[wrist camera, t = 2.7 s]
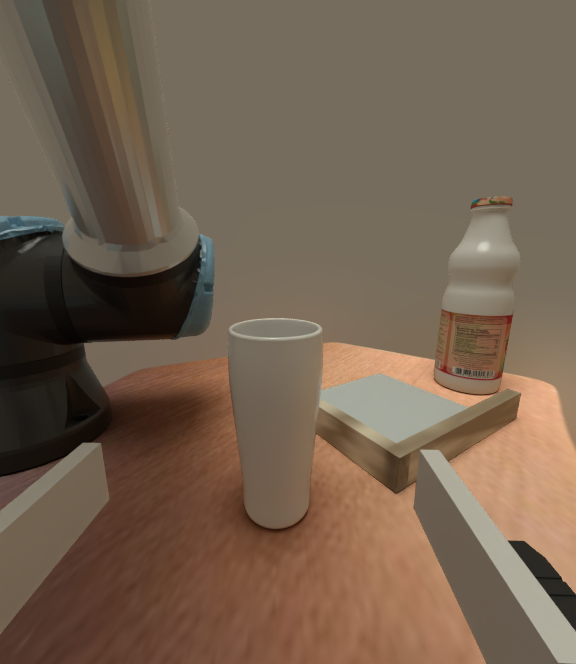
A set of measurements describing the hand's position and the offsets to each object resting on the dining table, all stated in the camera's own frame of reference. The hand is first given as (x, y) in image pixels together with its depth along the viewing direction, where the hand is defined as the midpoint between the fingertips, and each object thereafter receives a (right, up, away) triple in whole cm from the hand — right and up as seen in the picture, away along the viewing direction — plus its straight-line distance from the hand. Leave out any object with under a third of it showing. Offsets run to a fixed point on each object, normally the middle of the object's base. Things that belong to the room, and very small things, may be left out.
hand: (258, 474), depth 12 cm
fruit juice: (+30, -3, +37) cm, 48 cm away
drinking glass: (0, -9, +12) cm, 15 cm away
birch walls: (+16, -5, +26) cm, 31 cm away
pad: (+15, -4, +30) cm, 33 cm away
